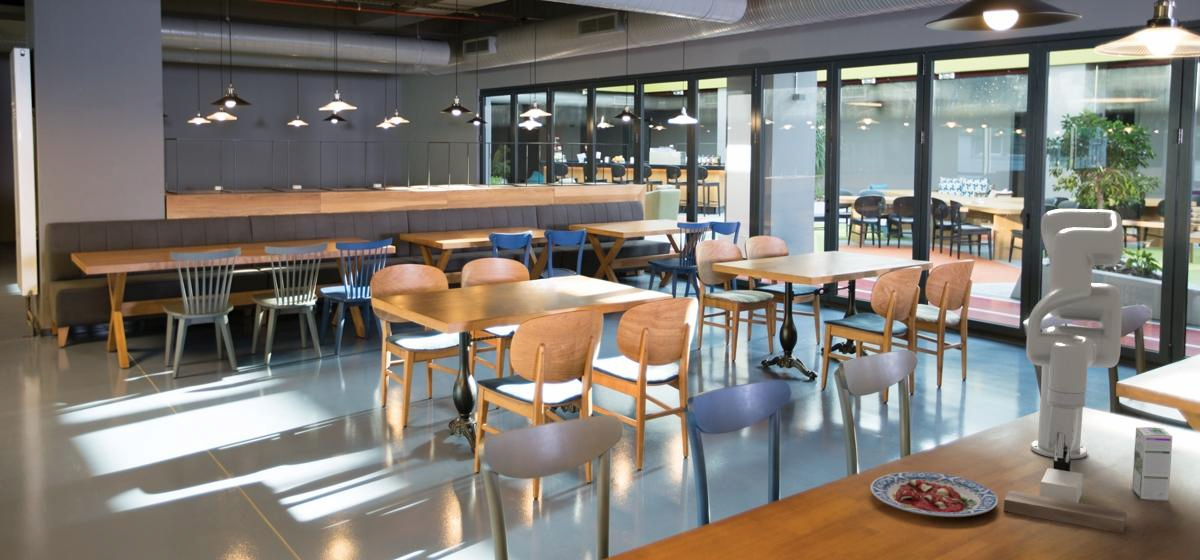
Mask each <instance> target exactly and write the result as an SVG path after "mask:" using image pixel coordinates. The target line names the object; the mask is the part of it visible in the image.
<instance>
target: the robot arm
mask: <svg viewBox="0 0 1200 560" xmlns="http://www.w3.org/2000/svg"><path fill="white" fill-rule="evenodd" d="M1040 220H1041V222H1040V231H1041V238H1042V242H1043V245H1044V248H1045V251H1046V254H1047V256H1048V261H1049V266H1050V267H1049V284H1048V285H1049V287H1048V292H1047V294H1046V295H1045V296H1043V298H1041V299H1040V300H1039V301H1038V302H1037V303H1036V305H1035V306H1034V307H1033V308H1032V311H1031V313H1030V315H1029V318H1028V322H1027V328H1026V329H1027V330H1026V332H1027V333H1026V345H1025V346H1026V347H1025V349H1026V350H1025V351H1026V357H1027V360H1028V361H1029V362H1030V363H1031V364H1032V365H1035V366H1041V382H1040V383H1041V385H1040V400H1039V401H1040V402H1039V417H1038V418H1039V419H1038V420H1039V421H1038V433H1037V434H1038V435H1037V439H1036V440H1033V441H1032V442H1031V443H1030V449H1031V450H1032V451H1033V452H1034V453H1036V454H1038V455H1042V456H1045V457H1049V458H1054V460H1053V467H1052V469H1057V470H1063V471H1069V472H1071V460H1077V459H1082V458H1084V457H1086V456H1087V455H1088V450H1087V448H1086V447H1085V446H1083V445H1081V440H1082V439H1081V437H1082V425H1083V423H1082V422H1083V413H1084V412H1083V411H1084V410H1083V409H1084V408H1085V406H1086V400H1087V399H1086V397H1087V396H1086V394H1087V384H1088V383H1087V382H1088V381H1087V380H1088V369H1089V368H1100V369H1101V368H1102V369H1109V368H1114V367H1115V366H1116V365H1118V363H1119V360H1120V358H1121V346H1122V344H1121V343H1122V316H1123V315H1122V312H1123V303H1122V302H1123V301H1122V300H1123V298H1122V295H1121V292H1120V291H1121V290H1120V289H1119V288H1118V287H1117V286H1115V285H1112V284H1108V283H1095V282H1093V281H1092V280H1093V265H1100V266H1116V265H1117V264H1118V263H1120V261H1121V259H1122V257H1123V255H1124V254H1123V252H1124V244H1125V243H1124V229H1123V220H1122V216H1121V215H1120V213H1119V212H1117V211H1115V210H1112V209H1111V210H1110V209H1086V208H1085V209H1084V208H1083V209H1082V208H1079V209H1078V208H1060V209H1052V210H1048V211H1047V212H1045V213H1044V214H1043V215H1042V217H1041V219H1040ZM1049 314H1050V315H1051V317H1053V318H1054V319H1056V320H1061V321H1067V322H1068V321H1069V322H1083V323H1084V322H1085V323H1095V324H1097V325H1098V326H1099V327H1091V326H1090V327H1089V326H1078V325H1076V326H1075V325H1065V324H1064V325H1063V324H1062V325H1061V324H1060V325H1059V324H1058V325H1053V326H1049V327H1046V328H1045V329H1044V330H1043V331H1042V332H1041V327H1042V322H1043V321H1044V318H1045V317H1046V316H1047V315H1049Z"/></svg>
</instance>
